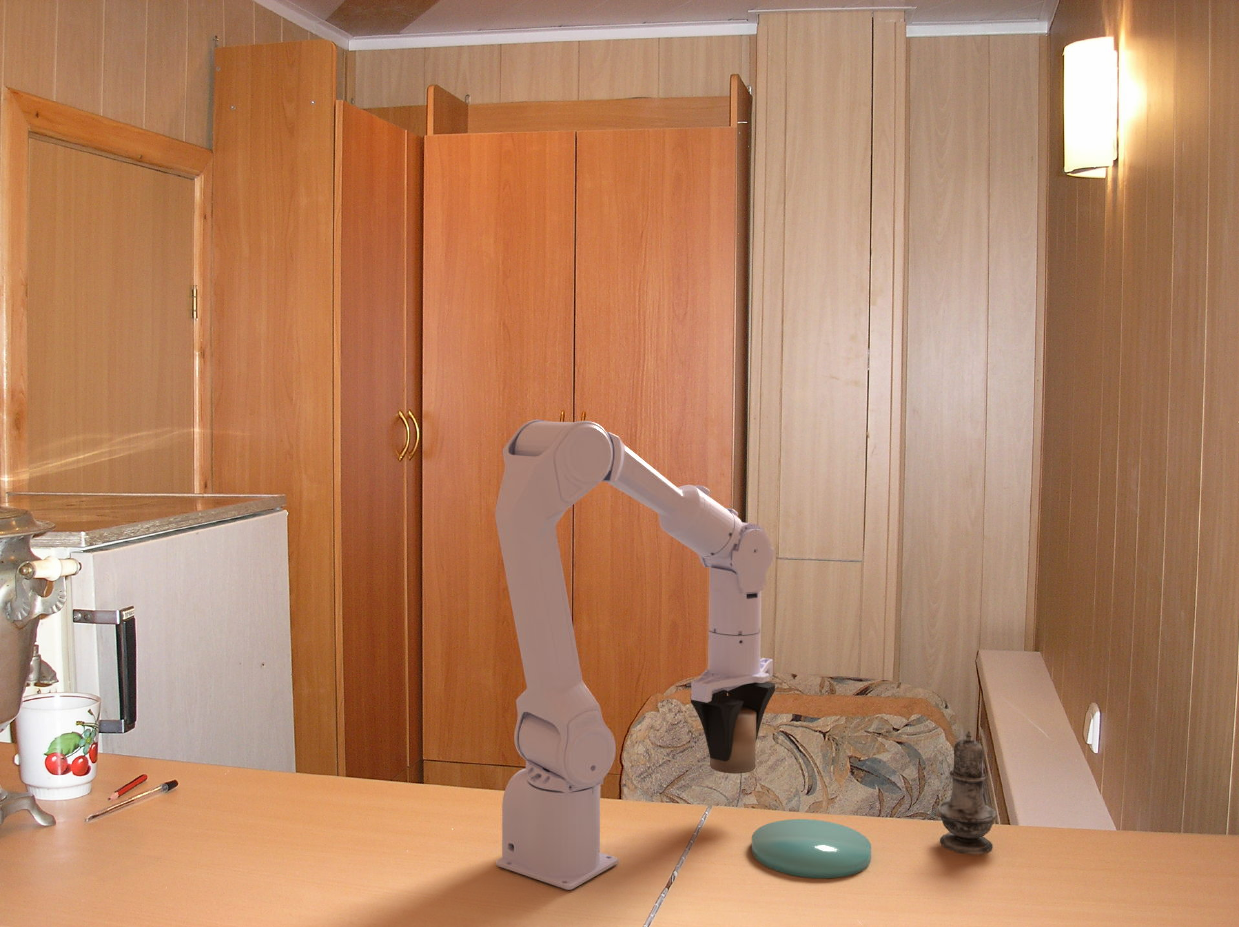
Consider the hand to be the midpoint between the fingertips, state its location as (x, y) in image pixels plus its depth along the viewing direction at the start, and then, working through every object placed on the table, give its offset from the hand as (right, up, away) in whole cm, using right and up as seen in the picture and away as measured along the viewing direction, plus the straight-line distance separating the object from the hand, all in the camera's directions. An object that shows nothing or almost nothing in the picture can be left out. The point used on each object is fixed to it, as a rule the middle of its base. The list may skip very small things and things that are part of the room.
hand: (732, 752), depth 119 cm
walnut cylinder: (0, -2, 0) cm, 2 cm away
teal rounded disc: (+7, -8, -8) cm, 14 cm away
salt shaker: (+24, -8, -6) cm, 26 cm away
